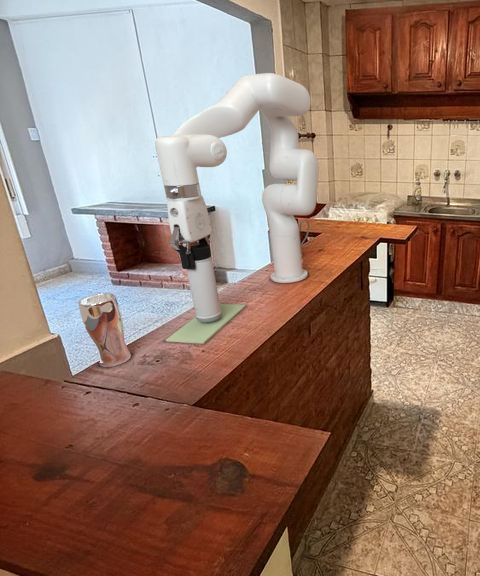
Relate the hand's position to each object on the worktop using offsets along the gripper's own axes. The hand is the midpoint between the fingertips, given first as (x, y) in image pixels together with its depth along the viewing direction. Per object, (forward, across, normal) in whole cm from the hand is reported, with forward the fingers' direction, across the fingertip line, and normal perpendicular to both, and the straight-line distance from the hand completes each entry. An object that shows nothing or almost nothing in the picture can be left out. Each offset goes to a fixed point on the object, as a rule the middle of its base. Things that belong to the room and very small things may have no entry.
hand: (197, 263), depth 100 cm
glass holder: (+17, +62, -3) cm, 64 cm away
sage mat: (+17, 0, 0) cm, 17 cm away
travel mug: (+15, 0, 0) cm, 15 cm away
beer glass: (+17, -20, +11) cm, 28 cm away
